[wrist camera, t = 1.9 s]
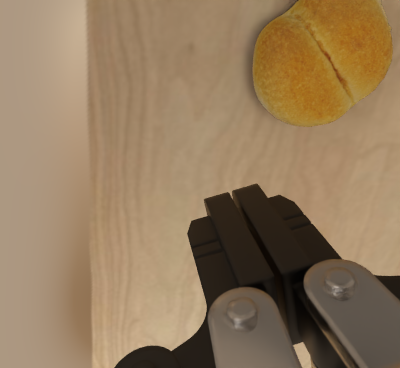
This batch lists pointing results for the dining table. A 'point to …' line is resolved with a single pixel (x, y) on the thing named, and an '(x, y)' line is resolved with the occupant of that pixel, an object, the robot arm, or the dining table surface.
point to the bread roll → (321, 59)
